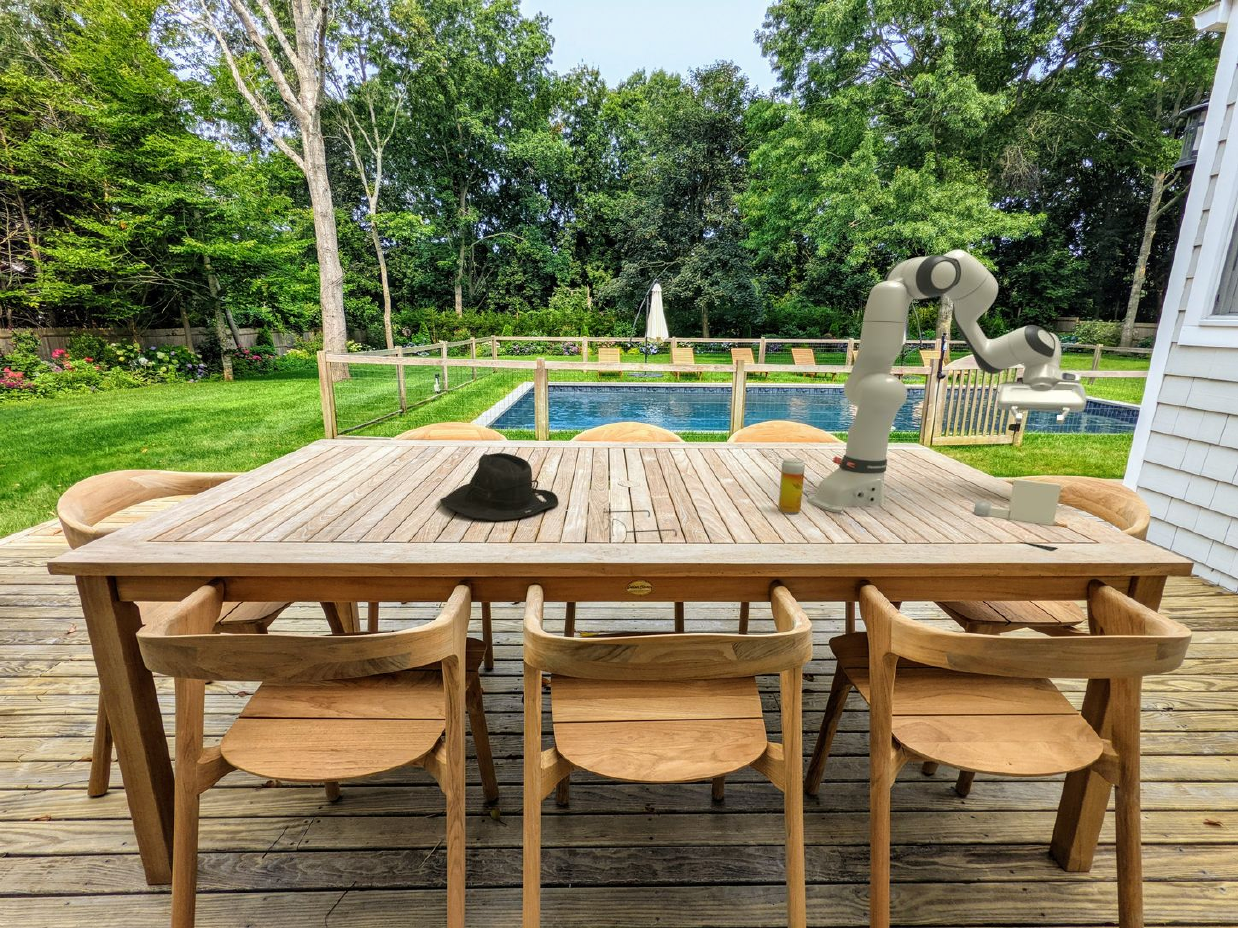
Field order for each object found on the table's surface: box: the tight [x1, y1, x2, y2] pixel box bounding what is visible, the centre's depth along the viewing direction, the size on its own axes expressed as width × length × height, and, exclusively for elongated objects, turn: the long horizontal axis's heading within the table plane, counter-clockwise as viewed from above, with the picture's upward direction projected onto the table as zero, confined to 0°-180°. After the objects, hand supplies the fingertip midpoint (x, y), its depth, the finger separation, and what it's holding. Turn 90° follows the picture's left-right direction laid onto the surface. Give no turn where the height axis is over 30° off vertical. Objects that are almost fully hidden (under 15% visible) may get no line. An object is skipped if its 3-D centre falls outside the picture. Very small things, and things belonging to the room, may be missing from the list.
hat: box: [439, 452, 559, 522], centre depth 160 cm, size 32×35×14 cm
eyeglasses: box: [602, 507, 678, 543], centre depth 141 cm, size 16×15×5 cm
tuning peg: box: [973, 478, 1068, 528], centre depth 149 cm, size 21×4×11 cm, turn 60°
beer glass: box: [777, 457, 806, 515], centre depth 157 cm, size 6×6×15 cm
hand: (1038, 421), depth 156 cm, fingers open, 8 cm apart
